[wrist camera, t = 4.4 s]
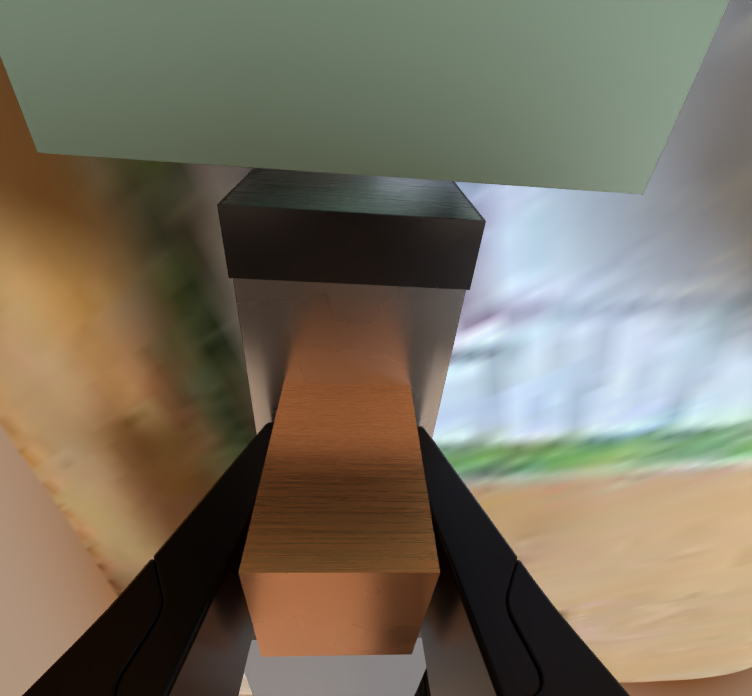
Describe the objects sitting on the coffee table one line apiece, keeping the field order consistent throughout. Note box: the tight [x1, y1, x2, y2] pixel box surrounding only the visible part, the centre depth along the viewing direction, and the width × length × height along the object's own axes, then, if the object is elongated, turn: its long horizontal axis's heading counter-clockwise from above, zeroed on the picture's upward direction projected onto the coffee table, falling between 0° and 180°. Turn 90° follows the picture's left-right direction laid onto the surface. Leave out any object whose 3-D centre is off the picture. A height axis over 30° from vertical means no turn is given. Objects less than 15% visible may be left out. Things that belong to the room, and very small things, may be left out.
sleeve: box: [244, 631, 426, 696], centre depth 18 cm, size 10×7×7 cm, turn 176°
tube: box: [217, 168, 486, 657], centre depth 11 cm, size 18×4×8 cm, turn 176°
